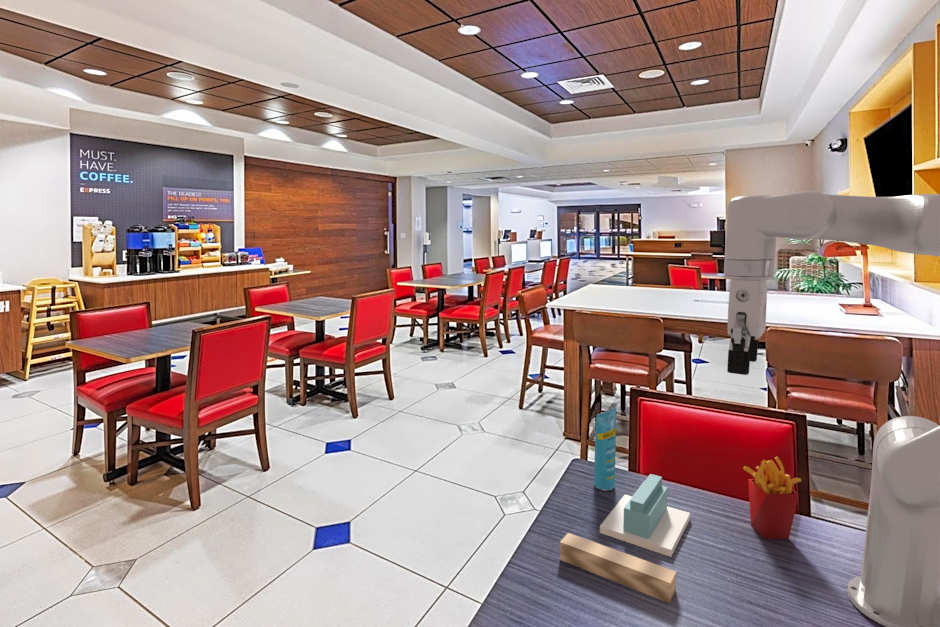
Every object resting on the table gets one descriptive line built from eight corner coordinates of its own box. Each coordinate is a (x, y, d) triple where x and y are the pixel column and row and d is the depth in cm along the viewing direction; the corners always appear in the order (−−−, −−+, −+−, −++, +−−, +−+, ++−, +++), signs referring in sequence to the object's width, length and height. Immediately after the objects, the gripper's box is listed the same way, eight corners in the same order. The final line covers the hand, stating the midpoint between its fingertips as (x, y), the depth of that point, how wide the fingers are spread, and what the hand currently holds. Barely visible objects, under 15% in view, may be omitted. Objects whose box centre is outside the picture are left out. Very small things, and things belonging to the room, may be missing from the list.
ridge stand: (689, 519, 107) (691, 482, 106) (671, 557, 95) (672, 515, 94) (624, 500, 115) (625, 465, 114) (599, 532, 103) (600, 494, 102)
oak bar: (675, 592, 86) (676, 571, 86) (669, 605, 83) (670, 583, 83) (568, 551, 98) (568, 532, 97) (559, 561, 95) (560, 541, 95)
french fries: (796, 541, 99) (803, 469, 96) (754, 542, 99) (759, 470, 96) (770, 516, 107) (775, 449, 105) (731, 517, 107) (735, 450, 105)
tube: (605, 496, 117) (606, 417, 114) (587, 488, 121) (588, 412, 118) (621, 484, 122) (623, 408, 119) (603, 477, 126) (605, 404, 123)
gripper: (768, 274, 77) (760, 382, 80) (779, 266, 91) (772, 358, 94) (714, 273, 81) (709, 375, 84) (732, 265, 95) (727, 353, 98)
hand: (742, 366), depth 89 cm, fingers open, 9 cm apart
